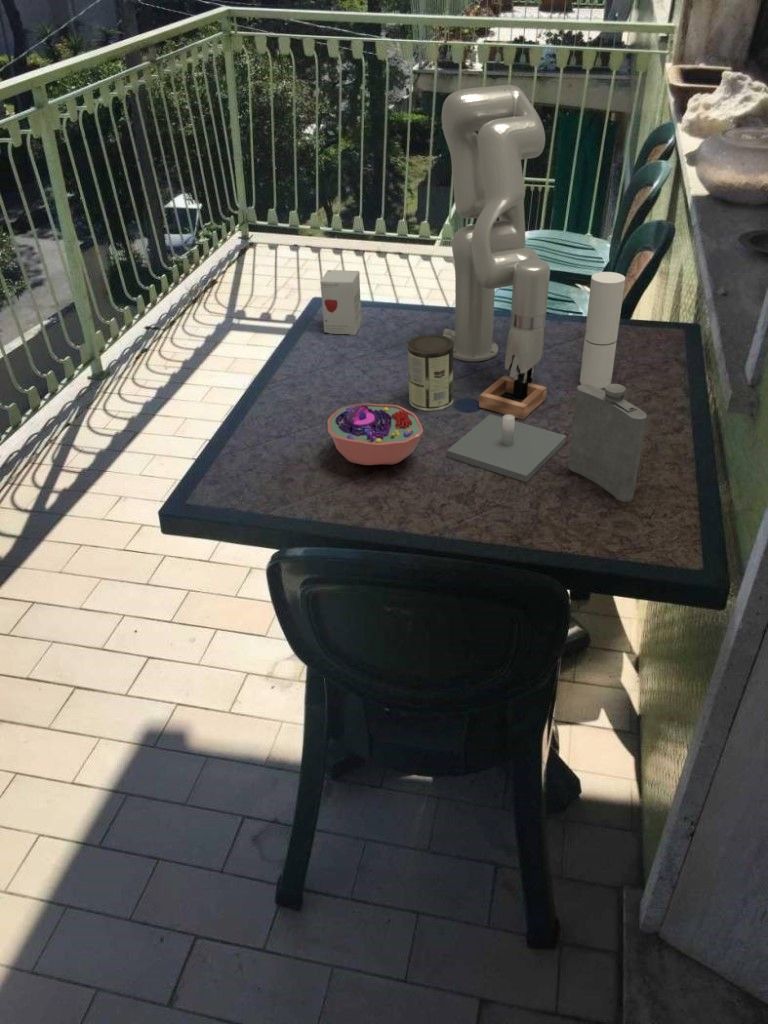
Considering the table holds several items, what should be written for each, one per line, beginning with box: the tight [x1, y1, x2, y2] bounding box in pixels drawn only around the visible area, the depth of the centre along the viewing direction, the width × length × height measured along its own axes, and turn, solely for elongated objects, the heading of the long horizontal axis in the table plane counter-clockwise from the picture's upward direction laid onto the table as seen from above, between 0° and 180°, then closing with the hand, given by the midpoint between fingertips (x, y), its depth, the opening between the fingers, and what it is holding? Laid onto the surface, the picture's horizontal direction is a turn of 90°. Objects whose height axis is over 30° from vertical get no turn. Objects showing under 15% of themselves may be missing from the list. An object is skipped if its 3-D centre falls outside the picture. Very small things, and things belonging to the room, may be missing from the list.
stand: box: [446, 413, 567, 483], centre depth 165 cm, size 18×18×8 cm
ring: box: [478, 375, 548, 420], centre depth 183 cm, size 11×11×3 cm
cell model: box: [326, 403, 424, 466], centre depth 163 cm, size 17×20×11 cm
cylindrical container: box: [579, 271, 626, 389], centre depth 184 cm, size 7×7×25 cm
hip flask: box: [567, 383, 648, 503], centre depth 151 cm, size 16×4×20 cm, turn 33°
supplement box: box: [320, 269, 362, 336], centre depth 218 cm, size 9×9×15 cm
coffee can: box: [406, 334, 454, 412], centre depth 182 cm, size 10×10×14 cm
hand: (522, 394), depth 186 cm, fingers closed on ring, 1 cm apart
